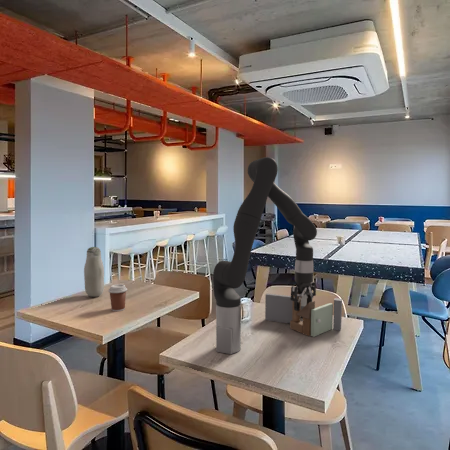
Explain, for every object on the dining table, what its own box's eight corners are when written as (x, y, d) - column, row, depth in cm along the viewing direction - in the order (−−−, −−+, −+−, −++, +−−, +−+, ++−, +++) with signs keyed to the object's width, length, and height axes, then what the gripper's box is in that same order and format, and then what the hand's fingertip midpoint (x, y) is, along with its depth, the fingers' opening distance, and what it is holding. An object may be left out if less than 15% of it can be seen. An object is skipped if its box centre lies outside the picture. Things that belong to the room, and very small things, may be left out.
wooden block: (308, 336, 158) (309, 293, 156) (289, 328, 166) (290, 287, 165) (314, 334, 160) (315, 292, 158) (295, 326, 169) (296, 286, 167)
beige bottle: (81, 298, 213) (79, 247, 210) (93, 293, 223) (91, 245, 220) (97, 299, 210) (95, 248, 208) (107, 294, 220) (106, 246, 217)
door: (335, 329, 165) (336, 304, 164) (317, 337, 156) (317, 311, 155) (329, 327, 167) (329, 302, 166) (310, 335, 158) (311, 309, 157)
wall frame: (340, 330, 164) (341, 300, 163) (264, 320, 177) (265, 292, 176) (341, 328, 167) (342, 298, 166) (266, 318, 180) (267, 291, 178)
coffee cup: (130, 306, 197) (129, 283, 196) (123, 312, 188) (123, 288, 187) (113, 306, 198) (112, 283, 197) (105, 311, 189) (105, 287, 188)
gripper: (301, 274, 153) (300, 314, 154) (321, 269, 162) (320, 307, 164) (286, 271, 158) (285, 309, 160) (306, 266, 168) (306, 303, 169)
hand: (303, 308), depth 162 cm, fingers open, 8 cm apart
